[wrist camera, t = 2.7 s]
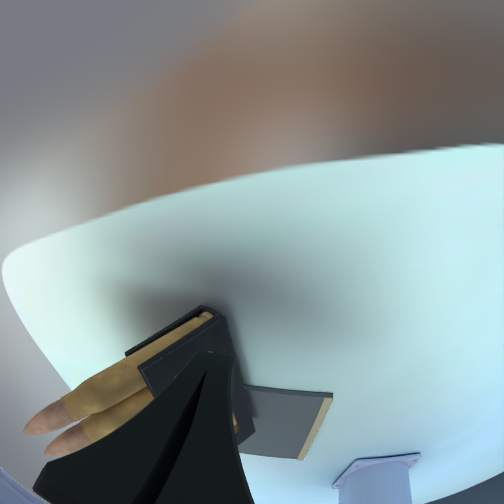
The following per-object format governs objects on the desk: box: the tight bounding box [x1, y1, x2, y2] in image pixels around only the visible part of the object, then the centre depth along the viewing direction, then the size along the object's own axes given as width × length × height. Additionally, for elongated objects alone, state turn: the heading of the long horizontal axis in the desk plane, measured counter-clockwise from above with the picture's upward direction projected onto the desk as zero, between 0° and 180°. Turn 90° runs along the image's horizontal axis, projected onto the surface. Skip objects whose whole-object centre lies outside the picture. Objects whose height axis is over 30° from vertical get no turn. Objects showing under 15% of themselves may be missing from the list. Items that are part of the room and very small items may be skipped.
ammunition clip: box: [23, 305, 256, 456], centre depth 13 cm, size 11×2×12 cm
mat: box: [238, 385, 333, 460], centre depth 20 cm, size 11×13×1 cm
